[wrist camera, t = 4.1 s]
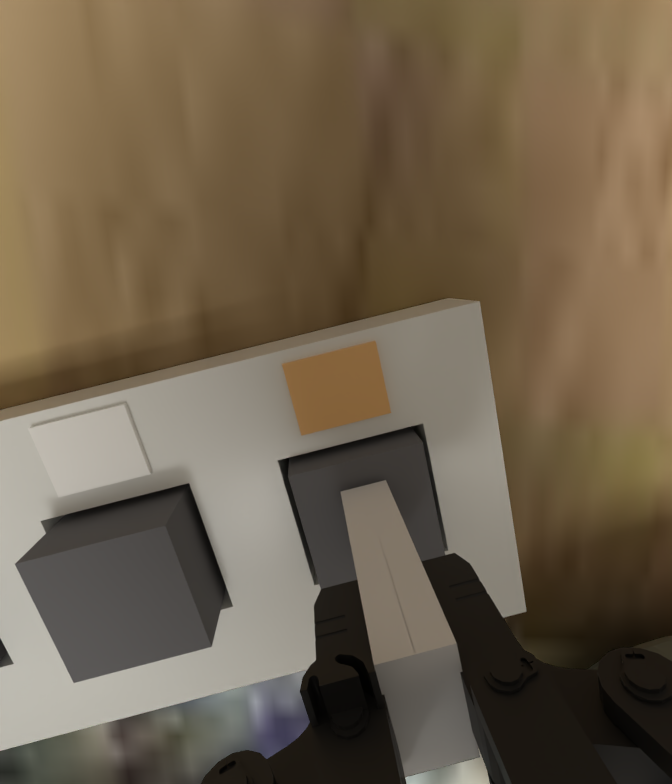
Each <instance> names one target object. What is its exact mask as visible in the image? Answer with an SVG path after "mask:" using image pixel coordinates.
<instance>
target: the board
mask: <svg viewBox="0 0 672 784" xmlns="http://www.w3.org/2000/svg"><path fill="white" fill-rule="evenodd" d="M407 427H411V428H412V429H413V430H414V432H415V433H416V434H417V435H418V437H419V438H420V439H421V441H422V442H423V446H424V451H425V456H426V461H427V466H428V471H429V476H430V481H431V486H432V491H433V496H434V501H435V506H436V511H437V516H438V521H439V526H440V531H441V536H442V541H443V546H444V551H445V555H448V554H452V553H456V554H457V555H459V556H460V557H462V558H463V559H464V560H466V561H467V562H469V563H470V564H471V566H472V567H473V569H474V571H475V572H476V574H477V576H478V577H479V580H480V581H481V582H482V584H483V586H484V587H485V589H486V591H487V594H489V595H490V597H491V599H492V600H493V602H494V604H495V605H496V607H497V609H498V610H499V612H500V614H501V615H502V617H503V618H504V617H508V616H512V615H515V614H519V613H523V612H527V611H526V604H525V598H524V591H523V584H522V578H521V571H520V564H519V558H518V551H517V545H516V538H515V531H514V525H513V518H512V511H511V505H510V498H509V492H508V485H507V478H506V472H505V465H504V458H503V452H502V445H501V439H500V432H499V425H498V419H497V412H496V405H495V399H494V392H493V386H492V379H491V372H490V366H489V359H488V352H487V346H486V339H485V333H484V326H483V319H482V313H481V306H480V301H473V300H463V299H454V298H446V299H442V300H438V301H434V302H430V303H426V304H422V305H418V306H414V307H410V308H406V309H402V310H398V311H394V312H390V313H386V314H382V315H378V316H374V317H370V318H366V319H362V320H358V321H354V322H350V323H346V324H342V325H338V326H334V327H330V328H326V329H322V330H318V331H314V332H310V333H306V334H302V335H298V336H294V337H290V338H286V339H282V340H278V341H274V342H270V343H266V344H262V345H258V346H254V347H250V348H246V349H242V350H238V351H234V352H230V353H226V354H222V355H218V356H214V357H210V358H206V359H202V360H198V361H194V362H190V363H186V364H182V365H178V366H174V367H170V368H166V369H162V370H158V371H154V372H150V373H146V374H142V375H138V376H134V377H130V378H126V379H122V380H118V381H114V382H110V383H106V384H102V385H98V386H94V387H90V388H86V389H82V390H78V391H74V392H70V393H66V394H62V395H58V396H54V397H50V398H46V399H42V400H38V401H34V402H30V403H26V404H22V405H18V406H14V407H10V408H6V409H2V410H0V639H1V641H2V642H3V644H4V646H5V648H6V650H7V652H8V653H7V654H6V655H5V656H4V658H3V659H2V660H1V661H0V751H2V750H5V749H9V748H13V747H17V746H21V745H24V744H28V743H32V742H36V741H39V740H43V739H47V738H51V737H55V736H58V735H62V734H66V733H70V732H73V731H77V730H81V729H85V728H89V727H92V726H96V725H100V724H104V723H107V722H111V721H115V720H119V719H123V718H126V717H130V716H134V715H138V714H141V713H145V712H149V711H153V710H157V709H160V708H164V707H168V706H172V705H175V704H179V703H183V702H187V701H191V700H194V699H198V698H202V697H206V696H209V695H213V694H217V693H221V692H225V691H228V690H232V689H236V688H240V687H243V686H247V685H251V684H255V683H259V682H262V681H266V680H270V679H274V678H277V677H281V676H285V675H289V674H293V673H296V672H300V671H304V670H308V668H309V667H310V665H311V664H312V663H313V662H315V661H316V648H315V641H316V639H315V623H314V604H315V602H316V599H317V597H318V595H319V592H320V590H321V588H320V585H319V581H318V578H317V574H316V571H315V567H314V564H313V561H312V557H311V554H310V550H309V547H308V543H307V540H306V537H305V533H304V530H303V526H302V523H301V519H300V516H299V513H298V509H297V506H296V502H295V499H294V495H293V492H292V489H291V485H290V482H289V478H288V469H289V457H293V456H297V455H301V454H305V453H309V452H313V451H317V450H321V449H324V448H328V447H332V446H336V445H340V444H344V443H348V442H352V441H356V440H360V439H364V438H368V437H372V436H375V435H379V434H383V433H387V432H391V431H395V430H399V429H403V428H407ZM187 483H189V484H190V487H191V490H192V493H193V495H194V498H195V501H196V504H197V507H198V509H199V512H200V515H201V518H202V521H203V523H204V526H205V529H206V532H207V535H208V537H209V540H210V543H211V546H212V549H213V551H214V554H215V557H216V560H217V563H218V565H219V568H220V571H221V574H222V577H223V579H224V582H225V585H226V590H225V594H224V598H223V602H222V607H221V611H220V615H219V619H218V623H217V627H216V631H215V636H214V640H213V644H212V647H209V648H206V649H202V650H198V651H194V652H190V653H187V654H183V655H179V656H175V657H171V658H168V659H164V660H160V661H156V662H152V663H148V664H145V665H141V666H137V667H133V668H129V669H126V670H122V671H118V672H114V673H110V674H107V675H103V676H99V677H95V678H91V679H88V680H84V681H80V682H76V683H73V681H72V679H71V677H70V675H69V673H68V671H67V668H66V666H65V664H64V662H63V660H62V658H61V656H60V654H59V652H58V650H57V648H56V646H55V644H54V642H53V640H52V638H51V636H50V634H49V632H48V630H47V628H46V626H45V624H44V622H43V620H42V618H41V616H40V614H39V612H38V610H37V608H36V606H35V604H34V602H33V600H32V598H31V596H30V594H29V592H28V590H27V588H26V586H25V584H24V582H23V580H22V578H21V576H20V574H19V572H18V570H17V568H16V566H15V563H16V562H17V561H18V560H19V559H20V558H21V557H23V556H24V555H25V554H26V553H27V552H28V551H29V550H30V549H31V548H32V547H33V546H34V545H35V544H36V543H37V542H38V541H39V540H40V539H41V538H42V537H43V536H44V535H45V534H46V533H47V532H48V531H49V530H50V529H51V528H52V527H53V526H54V525H55V524H56V523H57V522H58V521H59V520H60V519H61V518H62V517H63V516H64V515H66V514H70V513H73V512H77V511H81V510H85V509H89V508H93V507H97V506H101V505H105V504H109V503H113V502H117V501H121V500H124V499H128V498H132V497H136V496H140V495H144V494H148V493H152V492H156V491H160V490H164V489H168V488H172V487H175V486H179V485H183V484H187Z"/></svg>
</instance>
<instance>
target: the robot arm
mask: <svg viewBox="0 0 672 784" xmlns="http://www.w3.org/2000/svg"><path fill="white" fill-rule="evenodd" d="M341 497H342V502H343V508H344V513H345V518H346V523H347V528H348V534H349V539H350V544H351V549H352V554H353V560H354V565H355V570H356V575H357V580H354V581H350V582H346V583H342V584H338V585H334V586H331V587H327V588H323V589H321V590H320V592H319V595H318V597H317V599H316V602H315V604H314V623H315V639H316V641H315V648H316V661H315V662H313V663H312V664H311V665H310V667H309V668H308V670H307V671H306V673H305V675H304V676H303V679H302V684H301V689H300V693H301V696H302V699H303V702H304V705H305V708H306V711H307V714H308V717H309V720H310V723H309V725H308V727H307V728H306V730H305V731H304V732H303V733H302V734H301V735H300V736H299V738H297V739H296V740H295V741H294V742H292V743H291V744H290V745H288V746H287V747H285V748H284V749H282V750H281V751H279V752H278V753H276V754H274V755H273V756H271V757H270V758H268V759H267V760H266V759H265V758H264V757H263V756H262V755H261V754H260V753H258V752H253V751H249V750H245V751H241V752H236V753H232V754H231V755H229V756H227V757H226V758H224V759H223V760H221V761H219V762H218V763H217V764H216V765H215V766H214V767H213V768H212V769H211V771H210V772H209V773H208V774H207V775H206V776H205V777H204V779H203V781H202V783H201V784H406V779H405V777H408V776H412V775H415V774H419V773H423V772H427V771H430V770H434V769H438V768H441V767H445V766H449V765H452V764H456V763H460V762H464V761H467V760H471V759H475V758H478V757H480V755H479V750H480V753H481V755H482V758H483V760H484V763H485V766H486V768H487V771H488V776H489V781H490V784H672V661H671V660H669V659H667V658H665V657H663V656H662V655H660V654H658V653H655V652H652V651H648V650H645V649H642V648H629V647H622V648H618V649H615V650H612V651H609V652H608V653H607V654H606V655H605V656H604V657H602V658H601V659H600V662H599V666H598V670H587V669H568V668H561V667H555V666H552V665H549V664H546V663H543V662H541V661H539V660H538V659H536V658H535V657H534V656H533V655H532V654H531V653H529V652H527V651H525V650H524V649H523V648H522V647H521V645H520V644H519V643H518V642H517V640H516V638H515V637H514V635H513V633H512V632H511V630H510V629H509V627H508V625H507V624H506V622H505V620H504V619H503V617H502V615H501V614H500V612H499V610H498V609H497V607H496V605H495V604H494V602H493V600H492V599H491V597H490V595H489V594H487V591H486V589H485V587H484V586H483V584H482V582H481V581H480V580H479V577H478V576H477V574H476V572H475V571H474V569H473V567H472V566H471V564H470V563H469V562H467V561H466V560H464V559H463V558H462V557H460V556H459V555H457V554H456V553H452V554H448V555H444V556H440V557H436V558H432V559H429V560H425V561H421V560H420V558H419V555H418V553H417V551H416V548H415V546H414V544H413V542H412V539H411V537H410V535H409V532H408V530H407V528H406V525H405V523H404V521H403V519H402V516H401V514H400V512H399V509H398V507H397V505H396V502H395V500H394V498H393V495H392V493H391V491H390V489H389V486H388V484H387V482H386V480H384V481H380V482H376V483H372V484H368V485H364V486H360V487H357V488H353V489H349V490H345V491H341ZM478 747H479V750H478Z"/></svg>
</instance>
